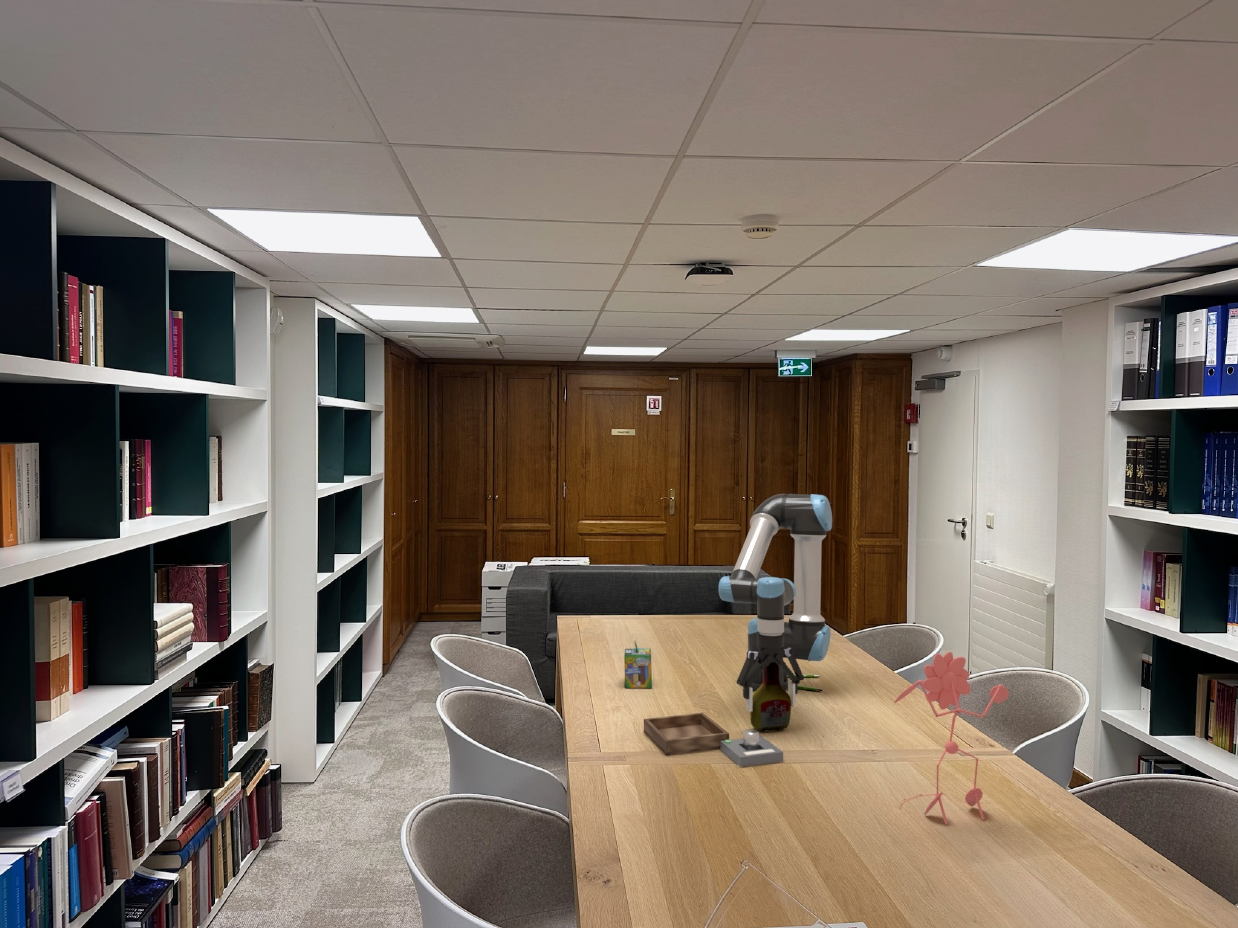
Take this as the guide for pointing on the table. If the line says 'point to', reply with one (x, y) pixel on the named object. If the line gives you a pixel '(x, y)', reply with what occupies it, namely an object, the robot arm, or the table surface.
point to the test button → (750, 739)
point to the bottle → (770, 703)
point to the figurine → (946, 687)
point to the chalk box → (638, 668)
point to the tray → (685, 733)
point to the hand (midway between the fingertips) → (770, 707)
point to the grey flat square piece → (751, 752)
